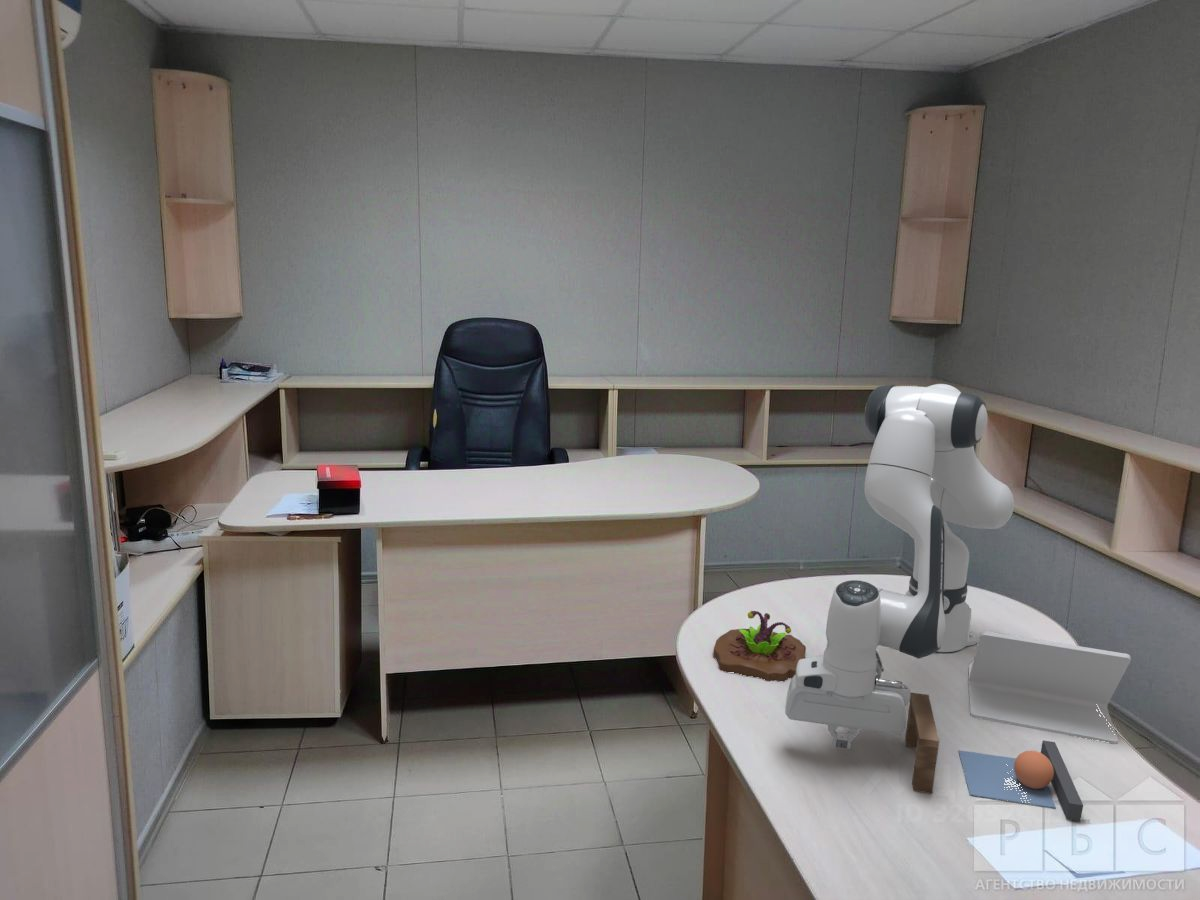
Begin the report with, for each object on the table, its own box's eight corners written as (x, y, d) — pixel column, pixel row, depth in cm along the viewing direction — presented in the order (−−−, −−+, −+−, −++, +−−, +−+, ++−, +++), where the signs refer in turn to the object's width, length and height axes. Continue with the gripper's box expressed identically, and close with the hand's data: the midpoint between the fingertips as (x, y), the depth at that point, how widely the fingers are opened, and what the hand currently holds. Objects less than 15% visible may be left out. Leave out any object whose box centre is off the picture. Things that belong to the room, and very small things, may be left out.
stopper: (1040, 755, 159) (1042, 740, 158) (1052, 757, 158) (1054, 742, 158) (1066, 819, 142) (1069, 803, 141) (1080, 821, 141) (1083, 805, 141)
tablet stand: (1118, 746, 163) (1134, 661, 158) (970, 718, 171) (982, 636, 166) (1101, 697, 179) (1115, 619, 175) (967, 674, 187) (977, 599, 183)
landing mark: (958, 751, 160) (958, 750, 159) (1037, 762, 157) (1037, 761, 157) (969, 795, 147) (970, 794, 147) (1055, 808, 144) (1055, 807, 144)
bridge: (913, 790, 148) (919, 738, 146) (904, 740, 162) (910, 692, 160) (932, 793, 148) (939, 741, 145) (922, 742, 162) (928, 694, 159)
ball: (1052, 776, 152) (1014, 778, 154) (1046, 742, 151) (1008, 745, 153) (1060, 794, 146) (1020, 797, 148) (1054, 759, 146) (1014, 762, 147)
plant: (715, 634, 203) (718, 588, 200) (804, 642, 200) (808, 596, 197) (711, 677, 184) (714, 627, 181) (808, 687, 181) (813, 636, 178)
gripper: (910, 674, 155) (901, 745, 158) (789, 658, 159) (783, 728, 163) (913, 692, 149) (904, 765, 152) (788, 675, 153) (782, 747, 157)
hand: (841, 746), depth 157 cm, fingers closed
